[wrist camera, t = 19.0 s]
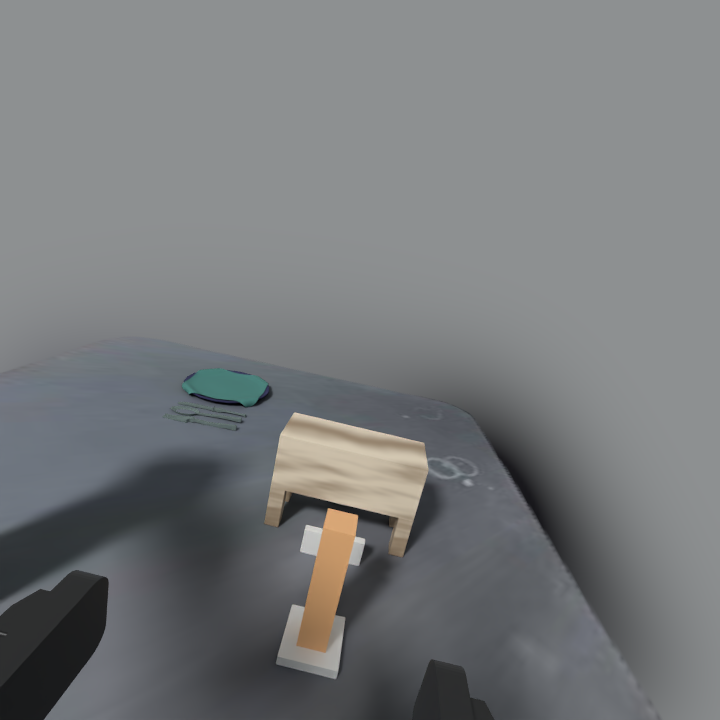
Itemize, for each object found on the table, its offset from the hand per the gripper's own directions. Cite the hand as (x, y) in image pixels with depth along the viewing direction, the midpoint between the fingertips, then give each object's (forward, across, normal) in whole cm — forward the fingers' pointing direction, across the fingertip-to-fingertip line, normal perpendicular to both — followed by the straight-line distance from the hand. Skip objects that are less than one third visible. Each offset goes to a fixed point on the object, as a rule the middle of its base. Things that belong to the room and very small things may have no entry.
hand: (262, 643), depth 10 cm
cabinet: (+45, -2, +30) cm, 54 cm away
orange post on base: (+30, -2, +30) cm, 43 cm away
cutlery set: (+78, +31, +31) cm, 90 cm away
